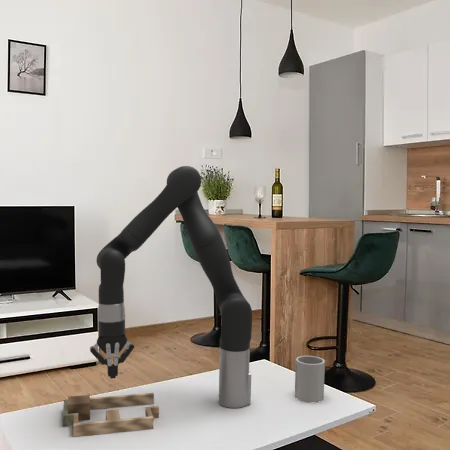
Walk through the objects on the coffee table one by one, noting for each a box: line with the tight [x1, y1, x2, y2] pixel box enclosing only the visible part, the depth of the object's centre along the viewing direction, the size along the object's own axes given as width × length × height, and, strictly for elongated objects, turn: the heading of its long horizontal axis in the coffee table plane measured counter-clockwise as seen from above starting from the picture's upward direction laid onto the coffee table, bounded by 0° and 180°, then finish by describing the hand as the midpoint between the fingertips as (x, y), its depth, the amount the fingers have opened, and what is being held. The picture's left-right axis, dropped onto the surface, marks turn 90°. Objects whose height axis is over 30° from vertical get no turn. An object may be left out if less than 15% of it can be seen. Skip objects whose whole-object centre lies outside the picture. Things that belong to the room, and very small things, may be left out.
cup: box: [294, 355, 326, 403], centre depth 167 cm, size 9×9×12 cm
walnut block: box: [67, 394, 91, 422], centre depth 149 cm, size 6×6×5 cm
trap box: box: [62, 392, 160, 438], centre depth 148 cm, size 26×18×3 cm
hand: (112, 377), depth 151 cm, fingers closed
